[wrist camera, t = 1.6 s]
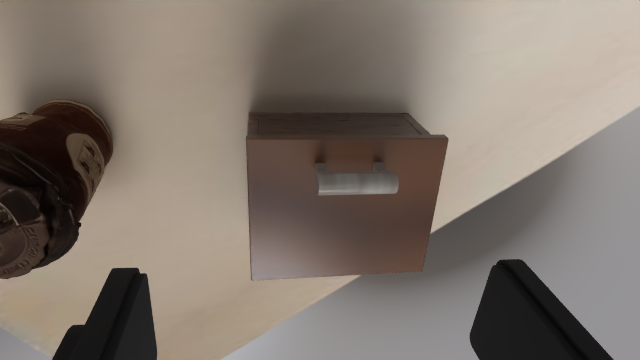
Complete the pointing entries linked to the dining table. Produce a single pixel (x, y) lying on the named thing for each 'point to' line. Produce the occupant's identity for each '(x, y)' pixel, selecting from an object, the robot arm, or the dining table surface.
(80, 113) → the coffee cup
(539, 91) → the dining table surface
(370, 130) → the bin
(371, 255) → the bread bin lid
